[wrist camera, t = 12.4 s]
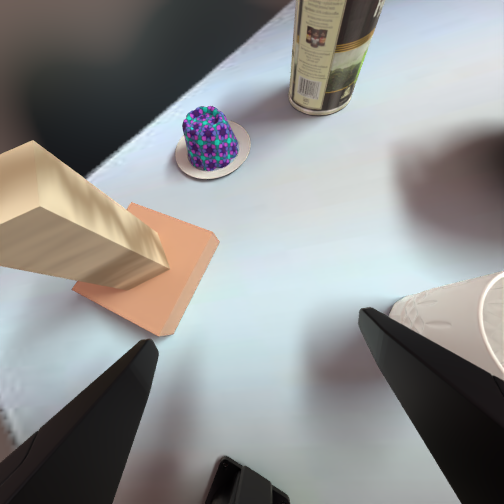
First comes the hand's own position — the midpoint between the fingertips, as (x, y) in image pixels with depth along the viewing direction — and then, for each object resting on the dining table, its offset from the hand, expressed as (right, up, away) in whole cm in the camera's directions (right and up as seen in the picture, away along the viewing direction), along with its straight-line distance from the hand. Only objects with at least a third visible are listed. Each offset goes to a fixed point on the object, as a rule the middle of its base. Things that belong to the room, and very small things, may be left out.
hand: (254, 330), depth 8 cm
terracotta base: (-12, +1, +16) cm, 20 cm away
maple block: (-12, +2, +13) cm, 18 cm away
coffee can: (+11, +30, +24) cm, 40 cm away
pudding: (-6, +19, +22) cm, 30 cm away
